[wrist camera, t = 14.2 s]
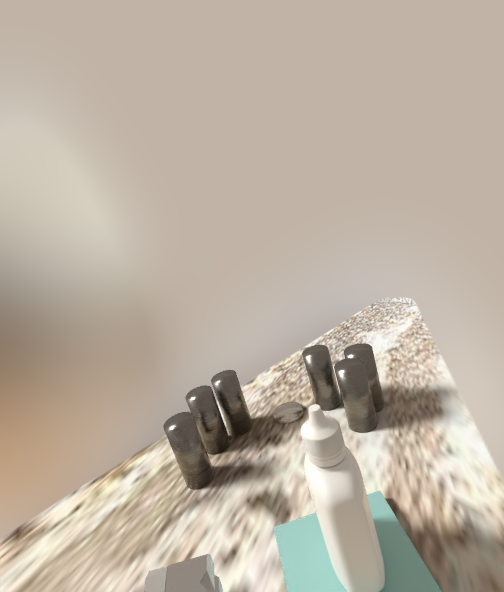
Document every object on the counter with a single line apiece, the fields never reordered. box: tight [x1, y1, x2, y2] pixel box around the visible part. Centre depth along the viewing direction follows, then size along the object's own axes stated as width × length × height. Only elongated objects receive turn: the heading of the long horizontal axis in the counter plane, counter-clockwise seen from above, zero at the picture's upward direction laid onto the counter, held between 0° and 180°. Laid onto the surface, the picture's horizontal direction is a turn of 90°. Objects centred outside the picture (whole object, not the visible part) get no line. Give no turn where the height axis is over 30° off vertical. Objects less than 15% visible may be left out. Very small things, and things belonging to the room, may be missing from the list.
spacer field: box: [164, 344, 385, 489], centre depth 41 cm, size 23×10×7 cm, turn 97°
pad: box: [274, 491, 442, 592], centre depth 25 cm, size 9×9×1 cm
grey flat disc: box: [273, 402, 303, 424], centre depth 45 cm, size 4×4×1 cm
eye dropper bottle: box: [301, 404, 385, 592], centre depth 24 cm, size 4×6×12 cm
